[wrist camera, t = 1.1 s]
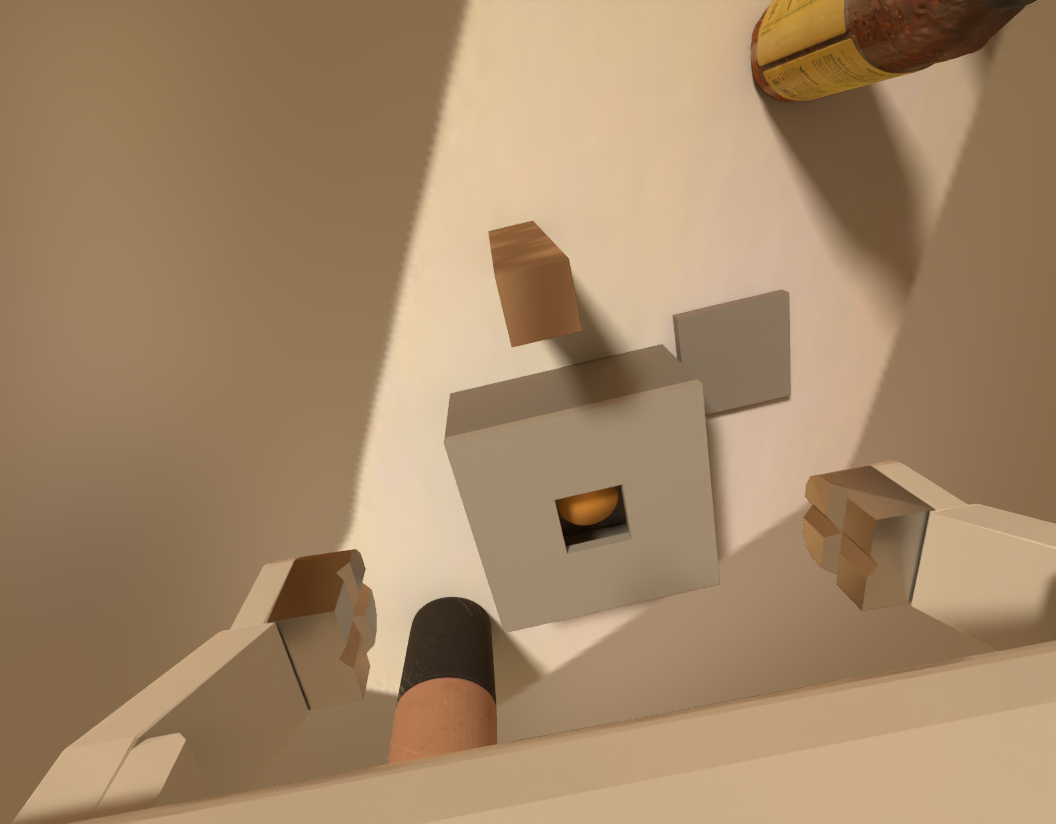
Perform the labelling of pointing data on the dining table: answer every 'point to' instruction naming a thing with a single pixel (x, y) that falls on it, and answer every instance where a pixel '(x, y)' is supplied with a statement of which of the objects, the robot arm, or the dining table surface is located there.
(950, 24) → the sauce bottle
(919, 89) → the dining table surface
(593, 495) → the button
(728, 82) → the dining table surface
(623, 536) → the box
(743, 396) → the pad
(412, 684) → the travel mug
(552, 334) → the brown wooden bar
